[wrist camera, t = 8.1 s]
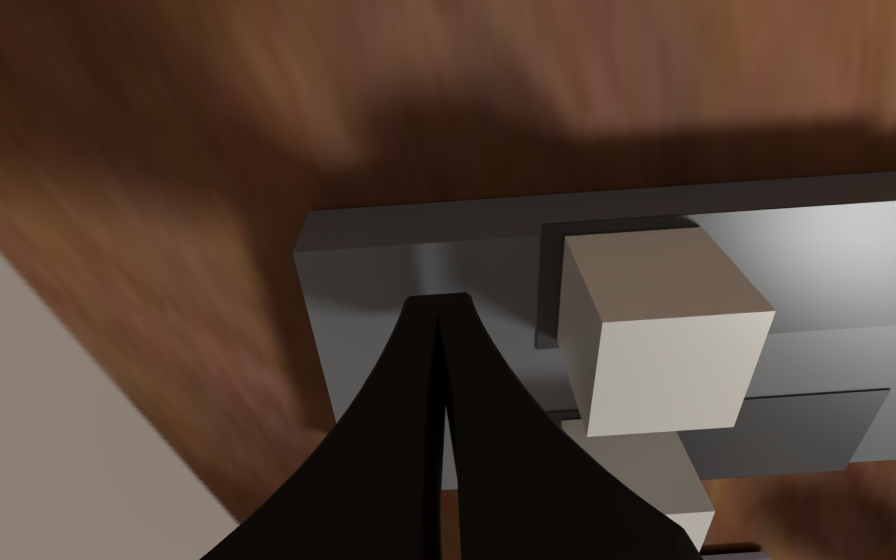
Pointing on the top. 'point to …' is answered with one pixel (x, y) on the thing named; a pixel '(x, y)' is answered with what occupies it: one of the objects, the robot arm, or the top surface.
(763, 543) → the top surface
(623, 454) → the switch tab
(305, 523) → the robot arm
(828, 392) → the switch panel
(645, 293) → the switch tab
